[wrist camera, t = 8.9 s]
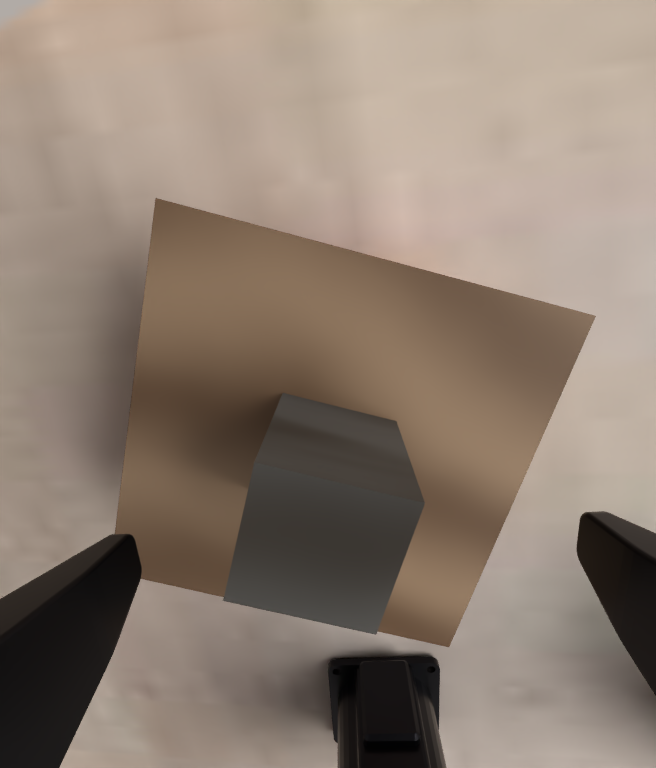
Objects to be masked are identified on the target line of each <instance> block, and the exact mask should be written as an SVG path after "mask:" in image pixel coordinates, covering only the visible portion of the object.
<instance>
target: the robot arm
mask: <svg viewBox="0 0 656 768" xmlns="http://www.w3.org/2000/svg"><path fill="white" fill-rule="evenodd" d="M577 555H578V558H579V561H580V563H581V565H582V567H583V569H584V571H585V573H586V575H587V577H588V579H589V580H590V582H591V584H592V586H593V588H594V590H595V592H596V594H597V596H598V598H599V600H600V602H601V604H602V606H603V608H604V610H605V612H606V614H607V616H608V618H609V620H610V622H611V623H612V625H613V627H614V629H615V631H616V633H617V634H618V636H619V638H620V640H621V641H622V643H623V645H624V646H625V648H626V650H627V651H628V653H629V654H630V656H631V657H632V659H633V661H634V662H635V664H636V665H637V667H638V668H639V670H640V672H641V673H642V675H643V676H644V678H645V679H646V681H647V683H648V684H649V686H650V687H651V689H652V690H653V692H654V694H655V695H656V533H654V532H651V531H649V530H647V529H645V528H642V527H640V526H638V525H635V524H633V523H631V522H629V521H626V520H624V519H622V518H619V517H617V516H615V515H613V514H610V513H608V512H604V511H601V512H585V513H584V514H582V516H581V518H580V524H579V532H578V540H577ZM141 574H142V566H141V562H140V558H139V554H138V549H137V545H136V541H135V538H134V537H133V535H131V534H112V535H109V536H108V537H106V538H104V539H102V540H101V541H99V542H97V543H96V544H94V545H92V546H90V547H89V548H87V549H85V550H84V551H82V552H80V553H78V554H77V555H75V556H73V557H72V558H70V559H68V560H66V561H65V562H63V563H61V564H60V565H58V566H56V567H54V568H53V569H51V570H49V571H48V572H46V573H44V574H42V575H41V576H39V577H37V578H36V579H34V580H32V581H30V582H29V583H27V584H25V585H23V586H22V587H20V588H18V589H17V590H15V591H13V592H11V593H10V594H8V595H6V596H5V597H3V598H1V599H0V768H59V767H60V765H61V763H62V761H63V759H64V756H65V754H66V752H67V750H68V748H69V746H70V744H71V742H72V740H73V737H74V735H75V733H76V731H77V729H78V727H79V725H80V723H81V721H82V719H83V716H84V714H85V712H86V710H87V708H88V706H89V704H90V702H91V700H92V697H93V695H94V693H95V691H96V689H97V687H98V685H99V683H100V681H101V679H102V676H103V674H104V672H105V670H106V668H107V666H108V664H109V661H110V659H111V657H112V655H113V652H114V650H115V647H116V645H117V642H118V639H119V637H120V634H121V631H122V628H123V626H124V623H125V620H126V618H127V615H128V612H129V609H130V607H131V604H132V601H133V598H134V596H135V593H136V590H137V587H138V585H139V582H140V579H141ZM328 674H329V686H330V698H331V710H332V722H333V734H334V740H335V741H336V742H337V743H338V768H446V763H445V759H444V754H443V749H442V744H441V740H440V735H439V685H440V668H439V664H438V660H437V659H436V658H434V657H399V658H360V659H334V660H332V661H330V663H329V666H328Z"/></svg>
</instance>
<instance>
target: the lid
mask: <svg viewBox="0 0 656 768" xmlns="http://www.w3.org/2000/svg"><path fill="white" fill-rule="evenodd" d="M595 317H596V316H594V315H590V314H587V313H583V312H579V311H575V310H572V309H568V308H564V307H560V306H557V305H553V304H549V303H546V302H542V301H538V300H534V299H531V298H527V297H523V296H519V295H516V294H512V293H508V292H504V291H501V290H497V289H493V288H489V287H486V286H482V285H478V284H475V283H471V282H467V281H463V280H460V279H456V278H452V277H448V276H445V275H441V274H437V273H433V272H430V271H426V270H422V269H419V268H415V267H411V266H407V265H404V264H400V263H396V262H392V261H389V260H385V259H381V258H377V257H374V256H370V255H366V254H362V253H359V252H355V251H351V250H348V249H344V248H340V247H336V246H333V245H329V244H325V243H321V242H318V241H314V240H310V239H306V238H303V237H299V236H295V235H292V234H288V233H284V232H280V231H277V230H273V229H269V228H265V227H262V226H258V225H254V224H250V223H247V222H243V221H239V220H235V219H232V218H228V217H224V216H221V215H217V214H213V213H209V212H206V211H202V210H198V209H194V208H191V207H187V206H183V205H179V204H176V203H172V202H168V201H165V200H161V199H157V198H156V200H155V208H154V217H153V225H152V233H151V241H150V249H149V258H148V266H147V274H146V282H145V291H144V299H143V307H142V315H141V323H140V332H139V340H138V348H137V356H136V365H135V373H134V381H133V389H132V397H131V406H130V414H129V422H128V430H127V439H126V447H125V455H124V463H123V471H122V480H121V488H120V496H119V504H118V512H117V521H116V529H115V534H131V535H133V537H134V538H135V541H136V545H137V549H138V554H139V558H140V562H141V566H142V574H141V579H145V580H150V581H154V582H158V583H163V584H167V585H172V586H176V587H181V588H185V589H190V590H194V591H199V592H203V593H208V594H212V595H217V596H221V597H224V599H223V601H227V602H232V603H236V604H241V605H245V606H250V607H254V608H259V609H263V610H268V611H272V612H277V613H281V614H286V615H290V616H295V617H299V618H304V619H308V620H313V621H317V622H322V623H326V624H331V625H335V626H340V627H344V628H349V629H353V630H358V631H362V632H367V633H371V634H377V631H379V632H383V633H388V634H392V635H397V636H401V637H405V638H410V639H414V640H419V641H423V642H428V643H432V644H437V645H441V646H446V647H449V646H450V644H451V641H452V639H453V637H454V635H455V632H456V630H457V628H458V626H459V623H460V621H461V619H462V617H463V614H464V612H465V610H466V608H467V605H468V603H469V601H470V599H471V596H472V594H473V592H474V590H475V587H476V585H477V583H478V581H479V578H480V576H481V574H482V572H483V569H484V567H485V565H486V563H487V560H488V558H489V556H490V553H491V551H492V549H493V547H494V544H495V542H496V540H497V538H498V535H499V533H500V531H501V529H502V526H503V524H504V522H505V520H506V517H507V515H508V513H509V511H510V508H511V506H512V504H513V502H514V499H515V497H516V495H517V493H518V490H519V488H520V486H521V484H522V481H523V479H524V477H525V475H526V472H527V470H528V468H529V466H530V463H531V461H532V459H533V456H534V454H535V452H536V450H537V447H538V445H539V443H540V441H541V438H542V436H543V434H544V432H545V429H546V427H547V425H548V423H549V420H550V418H551V416H552V414H553V411H554V409H555V407H556V405H557V402H558V400H559V398H560V396H561V393H562V391H563V389H564V387H565V384H566V382H567V380H568V378H569V375H570V373H571V371H572V369H573V366H574V364H575V362H576V360H577V357H578V355H579V353H580V350H581V348H582V346H583V344H584V341H585V339H586V337H587V335H588V332H589V330H590V328H591V326H592V323H593V321H594V319H595Z"/></svg>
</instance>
